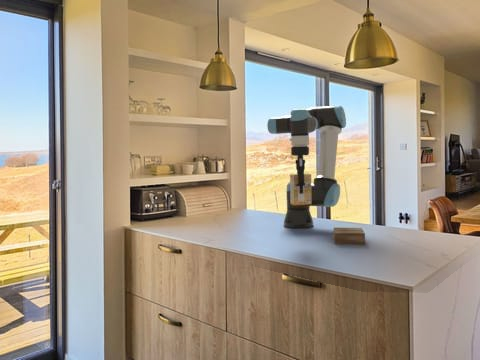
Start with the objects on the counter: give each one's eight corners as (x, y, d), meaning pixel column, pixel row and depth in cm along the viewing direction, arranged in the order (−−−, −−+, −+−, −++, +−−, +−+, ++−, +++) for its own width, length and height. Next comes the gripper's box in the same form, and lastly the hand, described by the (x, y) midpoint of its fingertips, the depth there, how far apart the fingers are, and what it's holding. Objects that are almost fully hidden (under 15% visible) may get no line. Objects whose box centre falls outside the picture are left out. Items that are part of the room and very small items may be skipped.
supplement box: (293, 205, 171) (293, 174, 170) (290, 204, 176) (289, 174, 175) (312, 204, 172) (311, 174, 171) (308, 203, 177) (307, 173, 176)
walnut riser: (333, 238, 180) (333, 227, 179) (361, 239, 177) (361, 227, 177) (334, 244, 168) (334, 233, 168) (364, 245, 166) (364, 233, 165)
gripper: (290, 146, 182) (291, 197, 184) (291, 146, 163) (292, 203, 165) (307, 145, 181) (308, 197, 183) (310, 145, 162) (311, 203, 164)
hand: (300, 199), depth 174 cm, fingers closed on supplement box, 6 cm apart
